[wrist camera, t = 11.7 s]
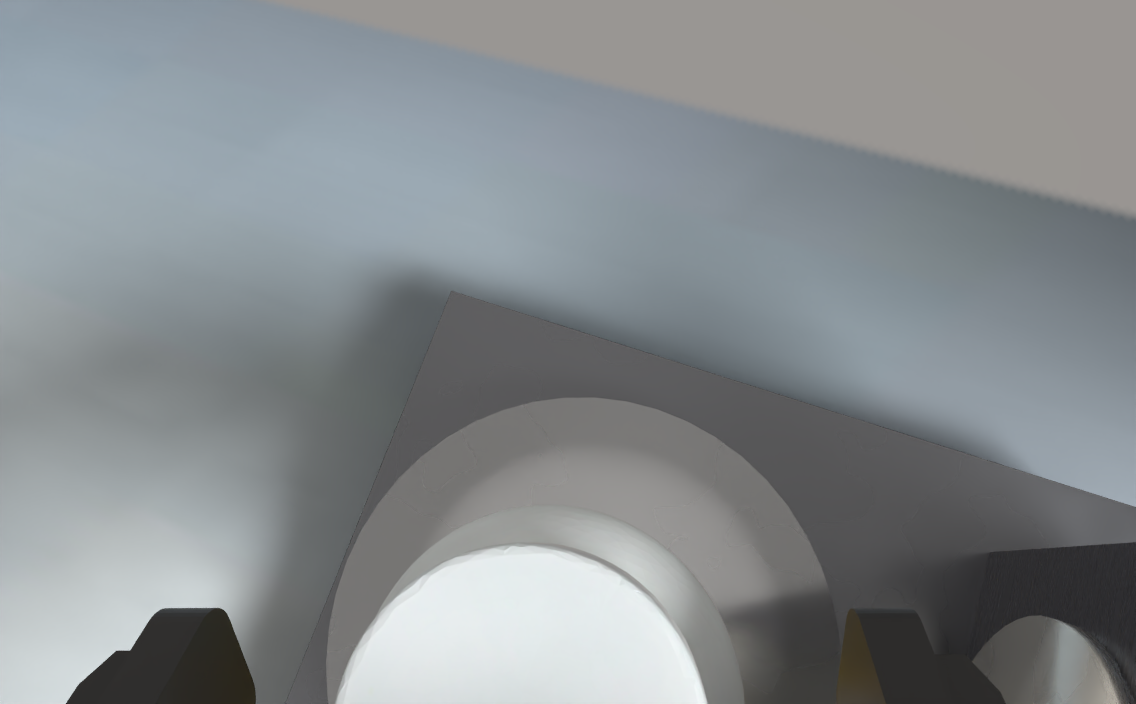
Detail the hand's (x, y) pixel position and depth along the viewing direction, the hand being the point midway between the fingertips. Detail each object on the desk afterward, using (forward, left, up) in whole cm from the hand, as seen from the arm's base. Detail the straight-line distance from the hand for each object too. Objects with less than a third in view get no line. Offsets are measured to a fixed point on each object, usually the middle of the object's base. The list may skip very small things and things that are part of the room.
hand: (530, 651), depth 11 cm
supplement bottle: (0, +1, -8) cm, 8 cm away
